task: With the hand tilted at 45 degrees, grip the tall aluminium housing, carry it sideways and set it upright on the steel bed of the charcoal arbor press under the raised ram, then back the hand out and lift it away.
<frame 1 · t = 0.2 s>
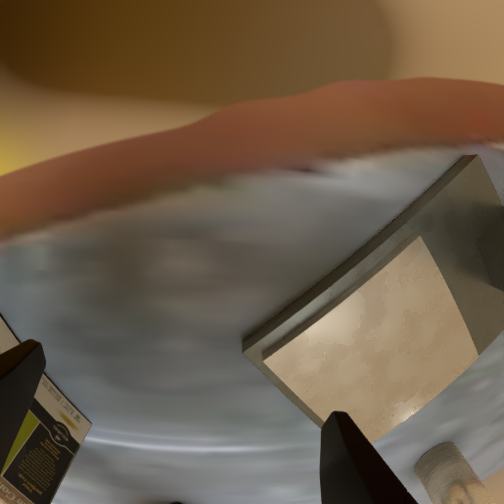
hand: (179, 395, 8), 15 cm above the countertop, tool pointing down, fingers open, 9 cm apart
arbor press: (377, 346, 25), on the countertop
housing: (435, 458, 29), on the countertop
tea box: (25, 386, 26), on the countertop
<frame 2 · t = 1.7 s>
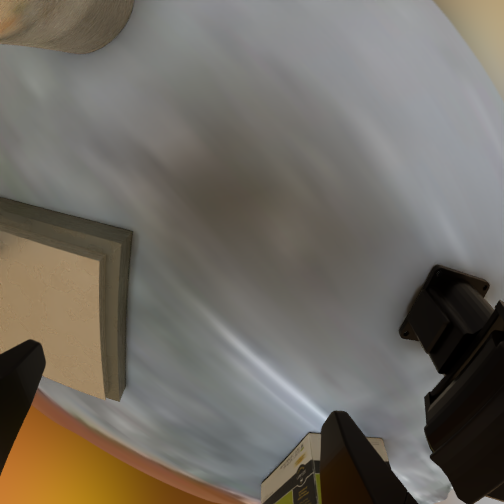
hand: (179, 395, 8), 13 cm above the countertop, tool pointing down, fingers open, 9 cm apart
arbor press: (42, 296, 23), on the countertop
housing: (90, 11, 14), on the countertop
tea box: (318, 462, 33), on the countertop
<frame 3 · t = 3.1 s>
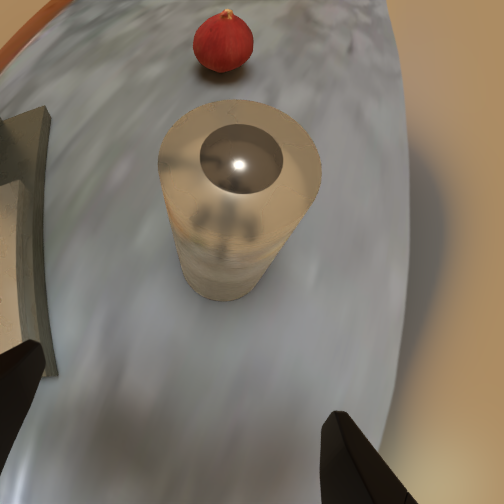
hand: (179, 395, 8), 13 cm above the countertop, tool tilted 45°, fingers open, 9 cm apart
housing: (222, 260, 24), on the countertop
onion: (220, 71, 30), on the countertop
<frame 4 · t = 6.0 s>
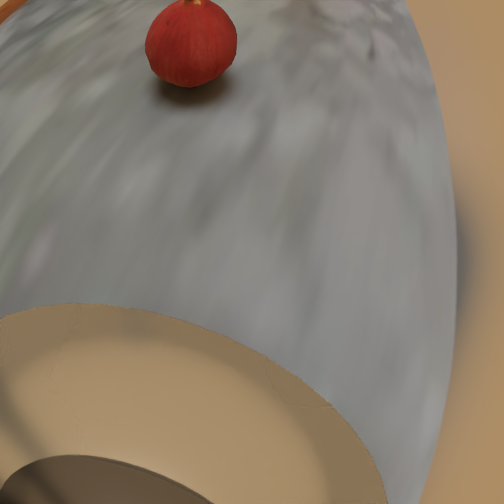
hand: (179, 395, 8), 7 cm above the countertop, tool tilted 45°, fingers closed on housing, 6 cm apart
housing: (184, 407, 14), on the countertop, touching gripper
onion: (190, 85, 21), on the countertop
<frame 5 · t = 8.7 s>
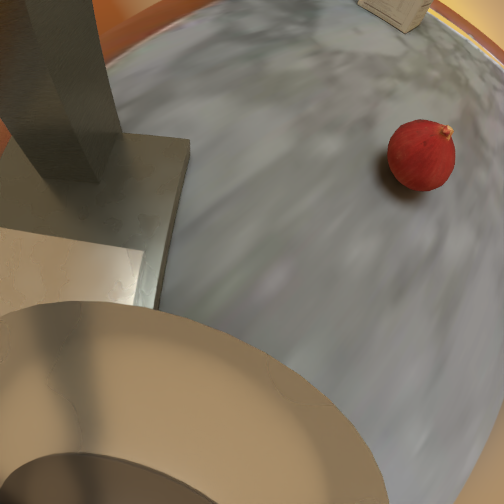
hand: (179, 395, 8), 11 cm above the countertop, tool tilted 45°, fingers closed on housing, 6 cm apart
arbor press: (41, 346, 18), on the countertop
supplement box: (389, 15, 39), on the countertop
housing: (184, 406, 14), point 5 cm above the countertop, touching gripper
onion: (398, 178, 27), on the countertop
when the fingers open (11 cm above the countertop, at t = 11.5 s): housing drops 1 cm, resting on arbor press.
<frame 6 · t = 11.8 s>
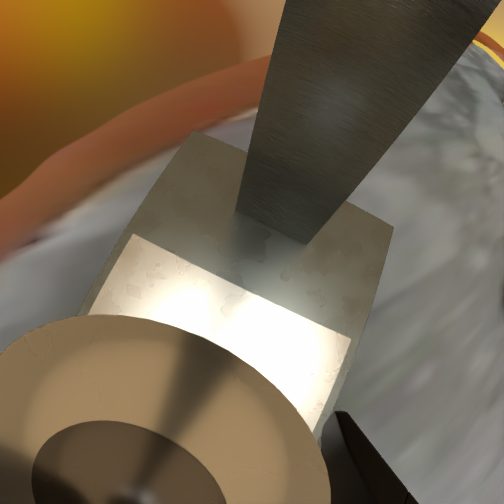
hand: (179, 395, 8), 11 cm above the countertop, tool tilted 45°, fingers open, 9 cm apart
arbor press: (188, 396, 18), on the countertop
housing: (184, 404, 15), point 3 cm above the countertop, touching arbor press
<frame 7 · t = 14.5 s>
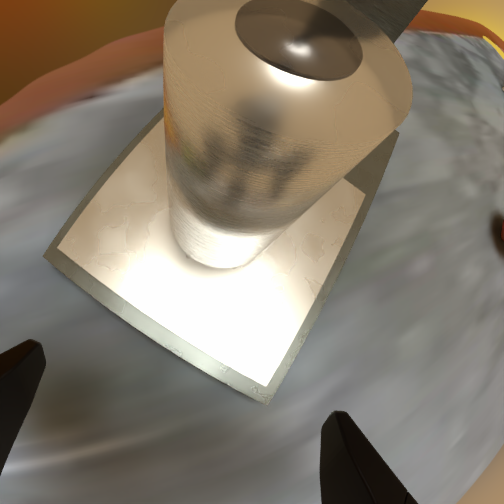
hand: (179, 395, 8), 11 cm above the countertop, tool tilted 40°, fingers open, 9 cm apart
arbor press: (217, 230, 21), on the countertop
housing: (222, 215, 18), point 3 cm above the countertop, touching arbor press
onion: (500, 236, 29), on the countertop
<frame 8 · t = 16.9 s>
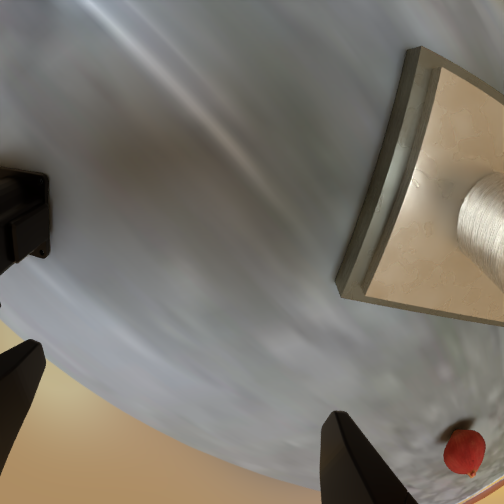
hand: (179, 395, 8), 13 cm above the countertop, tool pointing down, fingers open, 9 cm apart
arbor press: (469, 205, 19), on the countertop
housing: (492, 219, 16), point 3 cm above the countertop, touching arbor press
onion: (455, 429, 31), on the countertop
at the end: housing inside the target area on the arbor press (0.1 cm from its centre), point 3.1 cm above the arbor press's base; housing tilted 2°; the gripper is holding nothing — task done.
